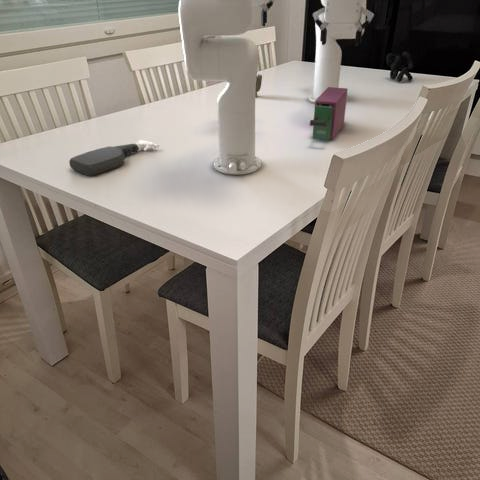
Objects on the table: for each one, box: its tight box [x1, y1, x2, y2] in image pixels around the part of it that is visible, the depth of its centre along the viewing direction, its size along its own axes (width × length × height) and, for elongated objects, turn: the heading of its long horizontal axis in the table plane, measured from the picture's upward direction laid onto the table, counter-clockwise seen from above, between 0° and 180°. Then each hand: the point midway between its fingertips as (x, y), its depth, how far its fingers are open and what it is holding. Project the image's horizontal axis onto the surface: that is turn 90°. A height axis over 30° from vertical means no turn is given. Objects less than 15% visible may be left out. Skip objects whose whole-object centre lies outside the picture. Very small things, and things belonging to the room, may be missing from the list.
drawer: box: [309, 104, 334, 141], centre depth 136 cm, size 22×5×10 cm, turn 158°
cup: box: [255, 73, 263, 97], centre depth 179 cm, size 8×7×8 cm
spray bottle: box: [68, 139, 160, 177], centre depth 124 cm, size 3×11×24 cm
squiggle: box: [385, 51, 414, 83], centre depth 198 cm, size 11×10×15 cm
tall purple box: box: [314, 87, 349, 141], centre depth 140 cm, size 18×6×11 cm, turn 158°
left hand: (247, 26), depth 137 cm, fingers open, 9 cm apart
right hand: (340, 44), depth 132 cm, fingers open, 9 cm apart
